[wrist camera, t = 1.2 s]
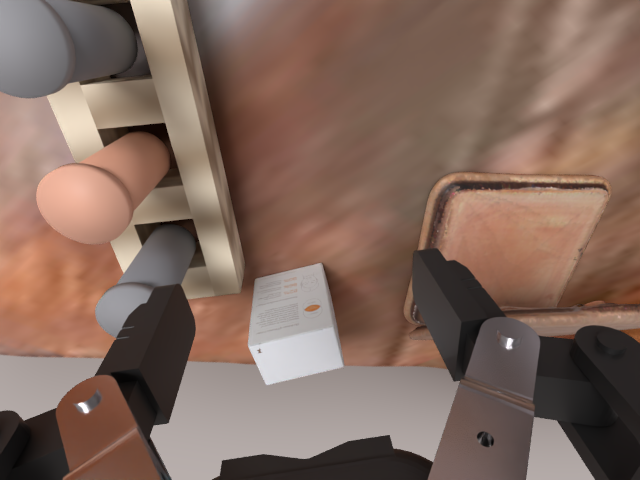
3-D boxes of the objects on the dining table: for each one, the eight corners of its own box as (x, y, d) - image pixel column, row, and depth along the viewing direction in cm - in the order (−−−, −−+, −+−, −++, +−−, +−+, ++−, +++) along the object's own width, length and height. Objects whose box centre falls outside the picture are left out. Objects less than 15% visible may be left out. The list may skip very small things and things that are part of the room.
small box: (268, 313, 43) (263, 387, 34) (254, 277, 40) (245, 347, 31) (332, 298, 42) (346, 369, 33) (322, 260, 40) (334, 326, 31)
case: (396, 324, 46) (446, 448, 32) (430, 168, 36) (527, 252, 22) (540, 320, 48) (645, 434, 34) (612, 173, 38) (804, 251, 24)
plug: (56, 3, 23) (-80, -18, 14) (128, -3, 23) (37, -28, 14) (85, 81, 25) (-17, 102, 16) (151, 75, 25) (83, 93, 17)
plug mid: (103, 130, 27) (19, 172, 18) (165, 124, 27) (110, 163, 18) (125, 187, 29) (59, 248, 20) (181, 181, 29) (139, 239, 21)
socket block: (28, -51, 25) (-26, -71, 20) (173, -62, 25) (150, -84, 21) (153, 275, 39) (137, 304, 34) (245, 264, 39) (240, 293, 35)
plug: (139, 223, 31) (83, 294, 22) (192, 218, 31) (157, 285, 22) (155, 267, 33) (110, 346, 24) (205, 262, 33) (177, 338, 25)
